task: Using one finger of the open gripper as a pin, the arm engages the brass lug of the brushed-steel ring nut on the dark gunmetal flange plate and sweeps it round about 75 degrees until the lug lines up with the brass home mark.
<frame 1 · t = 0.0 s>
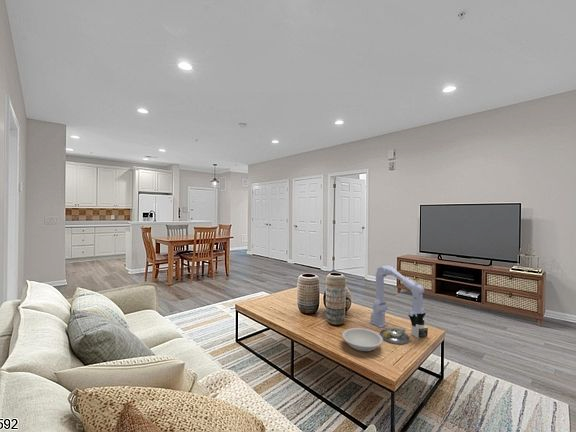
hand: (416, 324, 177), 10 cm above the table, fingers open, 6 cm apart
flange plate: (394, 337, 181), on the table
ring nut: (394, 332, 180), point 3 cm above the table, hinge at 0.0°
medicine bottle: (419, 336, 183), on the table, touching gripper
soup bowl: (361, 347, 168), on the table
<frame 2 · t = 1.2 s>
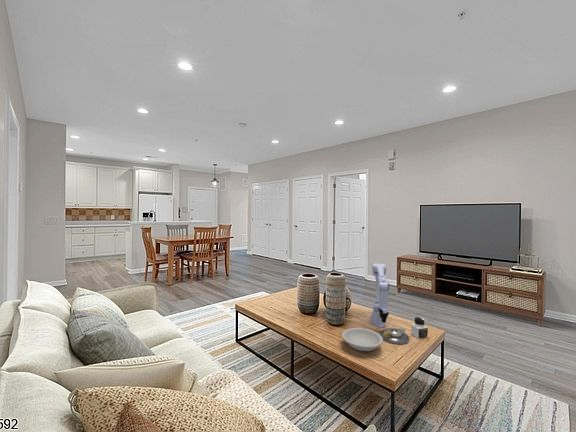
hand: (382, 319, 185), 10 cm above the table, fingers open, 7 cm apart
medicine bottle: (419, 336, 183), on the table
everything else where it was.
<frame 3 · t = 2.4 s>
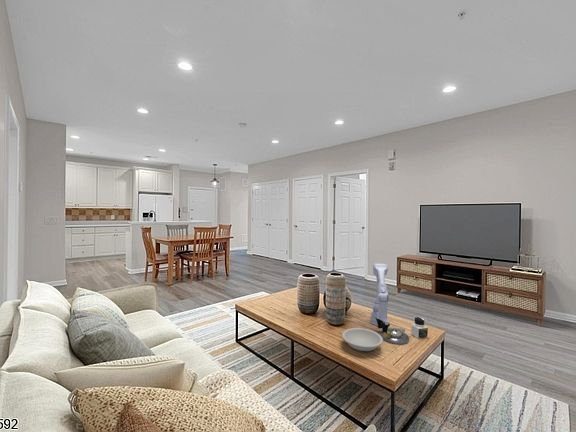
hand: (382, 330, 184), 3 cm above the table, fingers open, 7 cm apart
ring nut: (394, 332, 180), point 3 cm above the table, hinge at 1.3°, touching gripper
everything else where it was.
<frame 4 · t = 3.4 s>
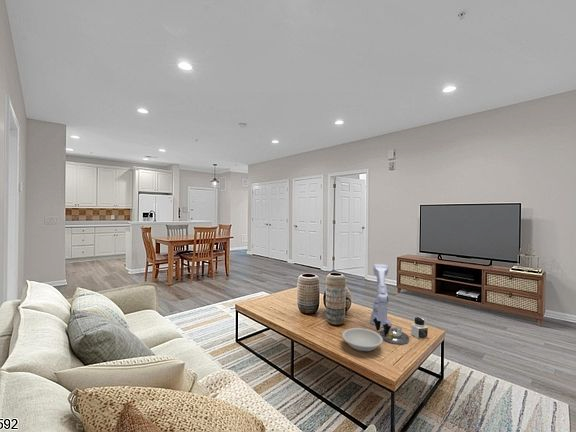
hand: (382, 332, 181), 3 cm above the table, fingers open, 7 cm apart
ring nut: (394, 332, 180), point 3 cm above the table, hinge at 20.0°, touching gripper
everything else where it was.
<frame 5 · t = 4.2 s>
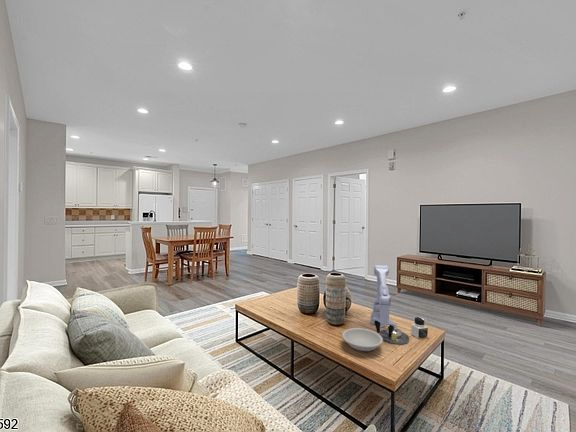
hand: (384, 334, 178), 3 cm above the table, fingers open, 7 cm apart
ring nut: (394, 332, 180), point 3 cm above the table, hinge at 44.0°, touching gripper
everything else where it was.
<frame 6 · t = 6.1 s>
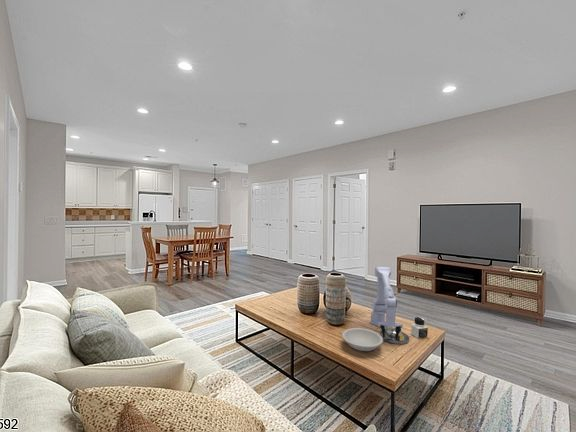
hand: (390, 337, 174), 3 cm above the table, fingers open, 7 cm apart
ring nut: (394, 332, 180), point 3 cm above the table, hinge at 77.9°, touching gripper
everything else where it was.
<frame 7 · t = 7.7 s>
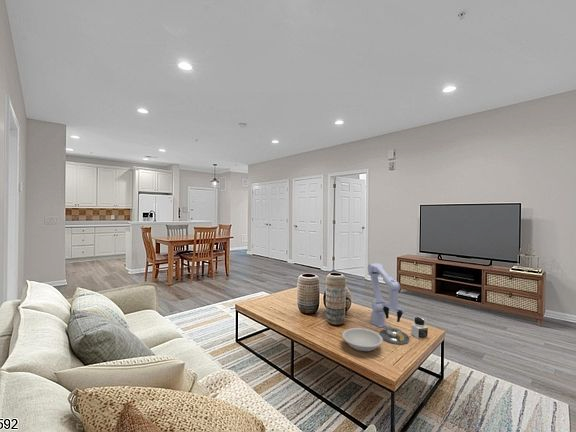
hand: (392, 319, 184), 10 cm above the table, fingers open, 7 cm apart
ring nut: (394, 332, 180), point 3 cm above the table, hinge at 78.0°
everything else where it was.
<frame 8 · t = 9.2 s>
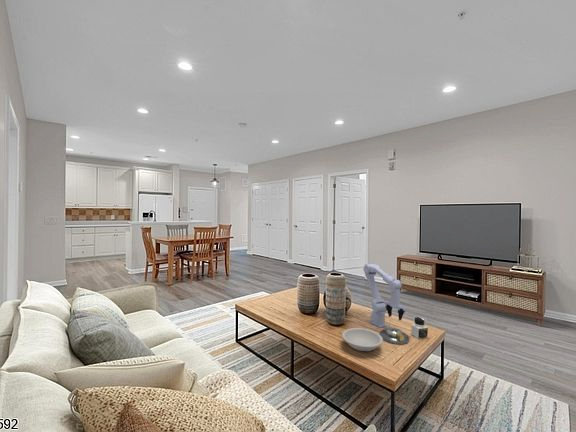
hand: (395, 318, 186), 10 cm above the table, fingers open, 7 cm apart
nothing on the table moved.
at the end: ring nut at +78° (first picture: +0°) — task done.
